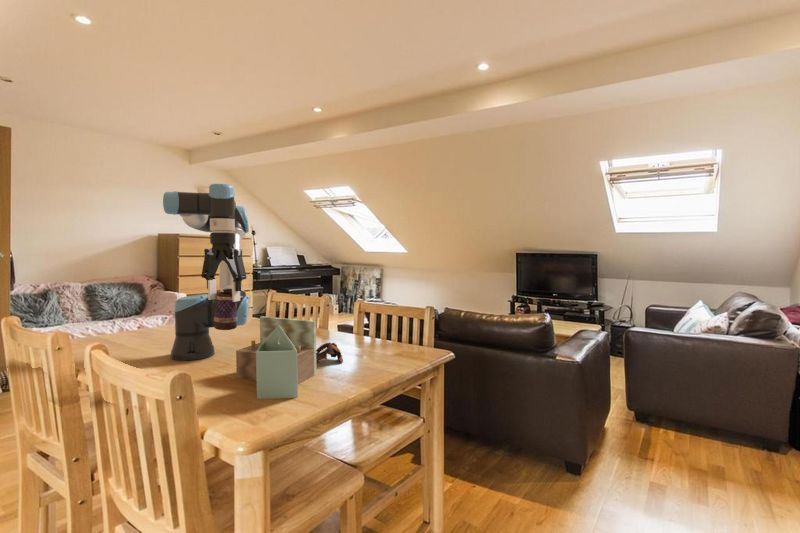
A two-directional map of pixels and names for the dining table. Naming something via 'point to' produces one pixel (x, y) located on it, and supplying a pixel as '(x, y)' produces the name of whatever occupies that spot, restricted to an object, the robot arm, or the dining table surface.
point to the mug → (225, 311)
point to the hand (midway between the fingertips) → (224, 300)
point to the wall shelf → (296, 331)
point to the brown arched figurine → (328, 352)
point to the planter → (276, 367)
